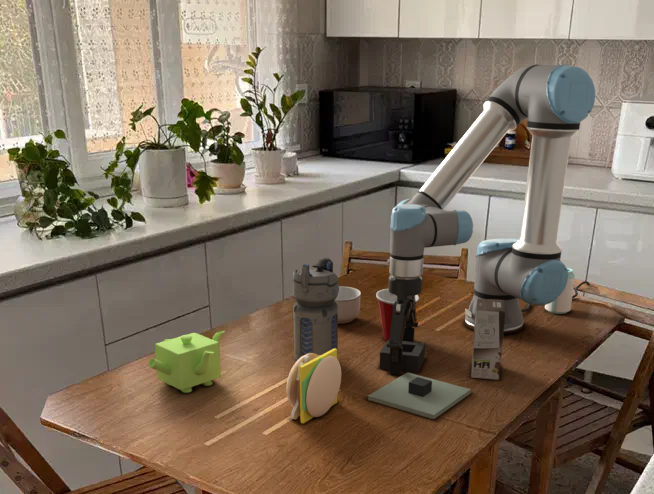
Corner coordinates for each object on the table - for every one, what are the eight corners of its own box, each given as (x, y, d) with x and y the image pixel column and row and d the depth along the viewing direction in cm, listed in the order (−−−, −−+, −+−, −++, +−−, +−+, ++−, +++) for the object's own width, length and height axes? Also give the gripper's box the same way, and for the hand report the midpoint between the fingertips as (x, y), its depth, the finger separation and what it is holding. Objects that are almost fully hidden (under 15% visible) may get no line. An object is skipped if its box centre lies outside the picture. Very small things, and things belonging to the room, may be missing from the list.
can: (550, 305, 225) (554, 264, 220) (573, 309, 221) (579, 268, 217) (540, 311, 220) (545, 270, 215) (564, 316, 216) (570, 274, 211)
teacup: (367, 318, 215) (368, 290, 212) (347, 329, 207) (347, 300, 204) (325, 309, 222) (325, 282, 219) (303, 320, 214) (303, 292, 210)
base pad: (407, 376, 177) (407, 362, 176) (470, 393, 168) (472, 378, 167) (367, 399, 165) (367, 384, 164) (433, 419, 157) (434, 403, 155)
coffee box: (499, 380, 175) (506, 311, 168) (470, 378, 176) (475, 309, 170) (499, 365, 183) (505, 299, 177) (471, 363, 184) (477, 297, 178)
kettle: (227, 370, 180) (224, 324, 176) (221, 396, 167) (218, 347, 163) (162, 371, 180) (157, 325, 175) (150, 397, 167) (145, 347, 162)
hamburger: (313, 395, 167) (313, 343, 162) (346, 405, 163) (346, 351, 158) (279, 416, 158) (277, 360, 153) (312, 426, 154) (312, 369, 149)
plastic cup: (396, 350, 192) (398, 303, 188) (366, 339, 200) (366, 293, 195) (426, 340, 199) (428, 294, 194) (395, 329, 206) (397, 285, 202)
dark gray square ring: (388, 354, 189) (388, 339, 188) (424, 358, 187) (425, 343, 185) (379, 368, 181) (379, 352, 180) (417, 372, 179) (418, 356, 177)
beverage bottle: (348, 357, 188) (349, 255, 178) (324, 377, 177) (324, 269, 167) (311, 351, 192) (310, 250, 182) (285, 369, 181) (282, 263, 171)
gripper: (400, 260, 188) (397, 343, 196) (376, 288, 166) (373, 380, 174) (431, 263, 186) (426, 347, 194) (411, 291, 164) (406, 384, 172)
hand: (401, 363), depth 184 cm, fingers open, 13 cm apart
